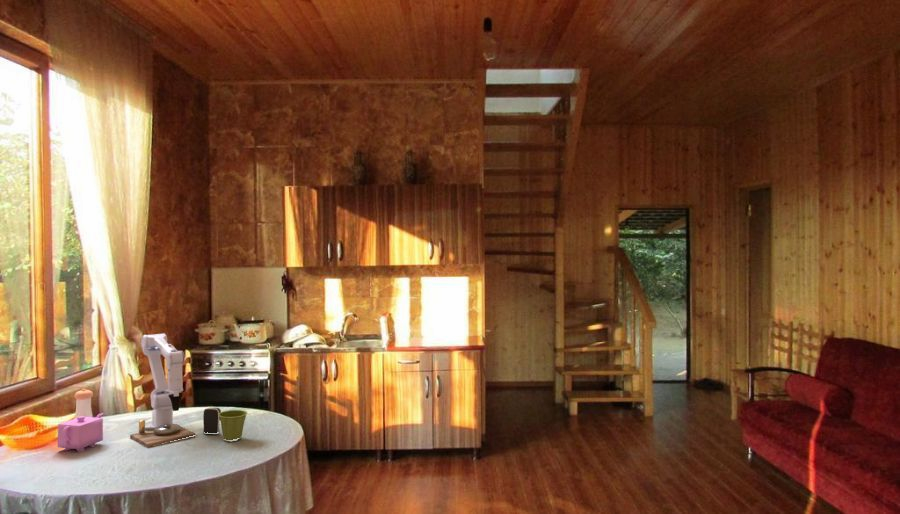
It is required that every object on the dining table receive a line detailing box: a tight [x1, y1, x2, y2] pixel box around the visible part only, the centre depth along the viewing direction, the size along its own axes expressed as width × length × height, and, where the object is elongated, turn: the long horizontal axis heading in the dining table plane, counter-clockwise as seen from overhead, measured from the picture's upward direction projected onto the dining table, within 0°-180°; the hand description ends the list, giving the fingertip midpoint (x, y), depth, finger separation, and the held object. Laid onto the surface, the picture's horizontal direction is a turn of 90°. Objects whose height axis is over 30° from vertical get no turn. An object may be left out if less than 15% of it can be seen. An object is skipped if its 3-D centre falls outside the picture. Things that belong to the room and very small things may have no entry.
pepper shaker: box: [73, 388, 94, 419], centre depth 260 cm, size 7×7×19 cm
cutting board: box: [129, 426, 197, 448], centre depth 254 cm, size 18×20×2 cm
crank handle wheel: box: [138, 419, 180, 435], centre depth 256 cm, size 16×10×5 cm, turn 102°
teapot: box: [57, 412, 104, 453], centre depth 241 cm, size 20×10×12 cm, turn 168°
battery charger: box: [202, 407, 222, 433], centre depth 260 cm, size 7×4×11 cm, turn 81°
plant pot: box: [218, 409, 248, 440], centre depth 252 cm, size 12×12×11 cm
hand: (175, 410), depth 259 cm, fingers closed
